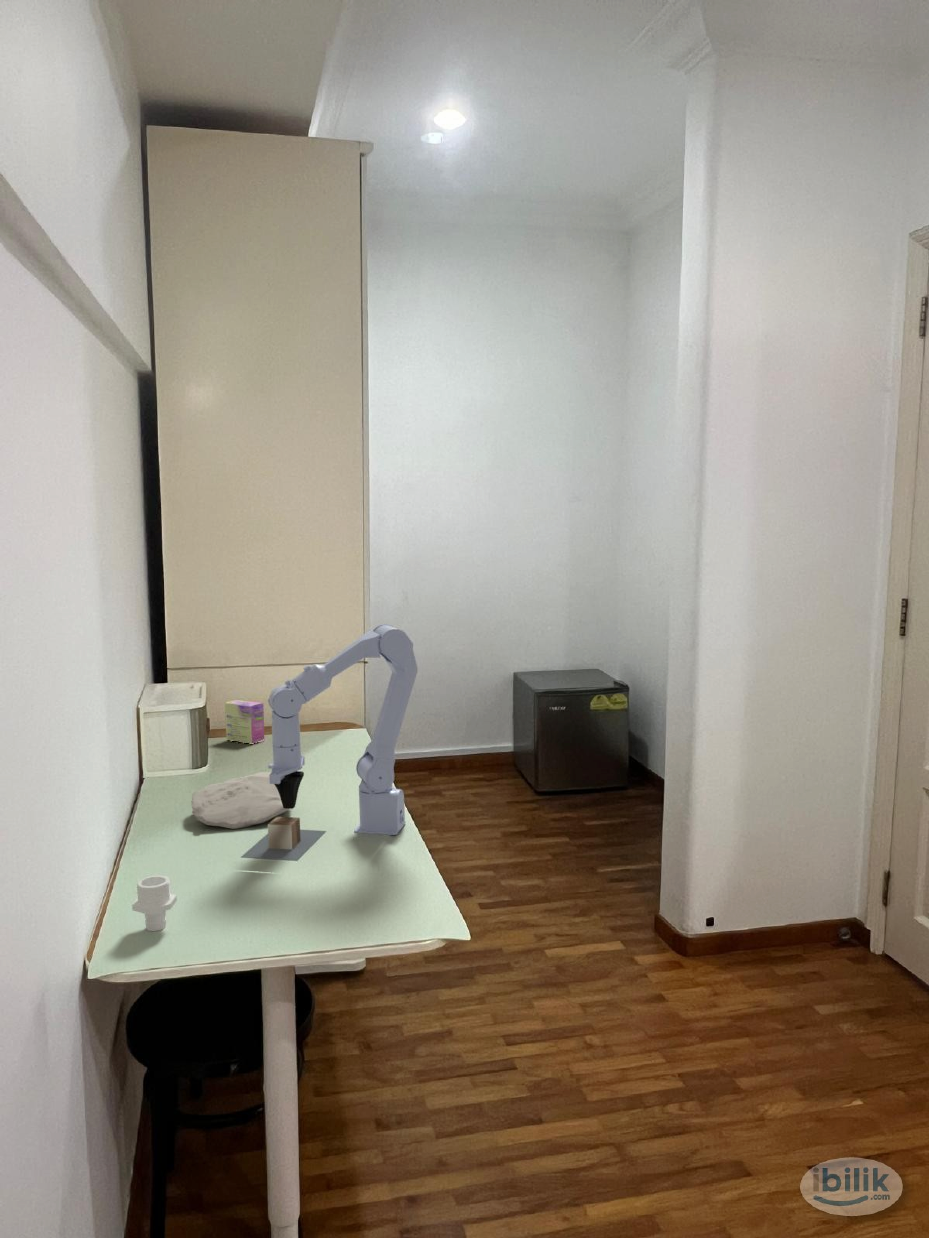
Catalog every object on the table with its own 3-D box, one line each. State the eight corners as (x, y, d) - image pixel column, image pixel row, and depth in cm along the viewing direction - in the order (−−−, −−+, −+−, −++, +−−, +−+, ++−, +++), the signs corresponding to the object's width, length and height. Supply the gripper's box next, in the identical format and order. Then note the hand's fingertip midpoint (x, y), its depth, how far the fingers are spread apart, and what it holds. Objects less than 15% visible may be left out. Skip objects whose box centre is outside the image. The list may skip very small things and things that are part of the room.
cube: (299, 817, 195) (290, 825, 190) (300, 840, 196) (291, 849, 191) (276, 816, 196) (267, 824, 191) (277, 839, 197) (268, 848, 192)
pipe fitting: (182, 929, 156) (179, 883, 156) (137, 939, 153) (134, 892, 152) (173, 915, 162) (170, 870, 161) (130, 924, 158) (127, 879, 157)
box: (265, 740, 281) (263, 702, 280) (252, 745, 277) (250, 705, 275) (239, 737, 287) (237, 699, 285) (226, 741, 282) (224, 702, 280)
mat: (326, 832, 202) (326, 830, 202) (297, 861, 185) (297, 860, 185) (274, 829, 204) (273, 828, 204) (240, 858, 187) (240, 857, 187)
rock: (304, 787, 234) (289, 839, 204) (210, 790, 232) (181, 843, 203) (302, 757, 232) (287, 805, 203) (207, 761, 231) (178, 809, 201)
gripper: (281, 735, 203) (284, 796, 204) (254, 752, 189) (257, 818, 190) (312, 736, 201) (315, 797, 203) (287, 753, 187) (290, 819, 189)
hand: (289, 807), depth 197 cm, fingers closed
